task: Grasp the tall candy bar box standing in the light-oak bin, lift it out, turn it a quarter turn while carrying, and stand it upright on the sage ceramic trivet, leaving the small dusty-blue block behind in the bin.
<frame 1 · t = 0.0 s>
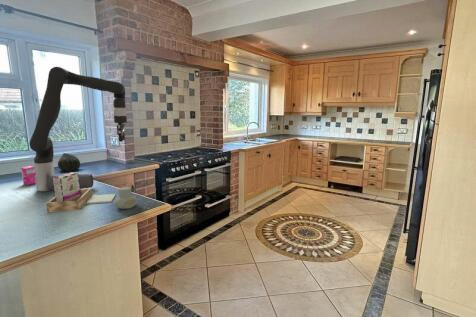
hand: (122, 140, 169), 29 cm above the table, fingers open, 8 cm apart
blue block: (75, 199, 145), resting in oak bin
squash: (69, 170, 213), on the table
candy bar box: (69, 205, 136), resting in oak bin
air freshener: (126, 207, 135), on the table
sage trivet: (101, 199, 146), on the table
oak bin: (71, 203, 139), on the table
bluetooth speaker: (72, 190, 161), on the table, touching arm
supplement box: (30, 184, 174), on the table
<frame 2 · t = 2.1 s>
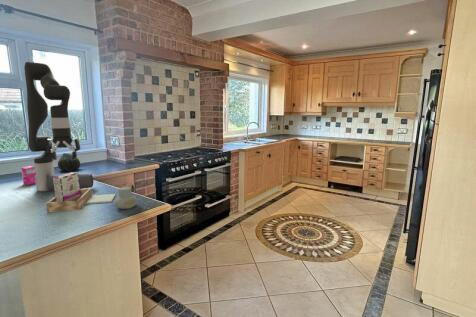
hand: (64, 159, 132), 24 cm above the table, fingers open, 8 cm apart
nothing on the table moved.
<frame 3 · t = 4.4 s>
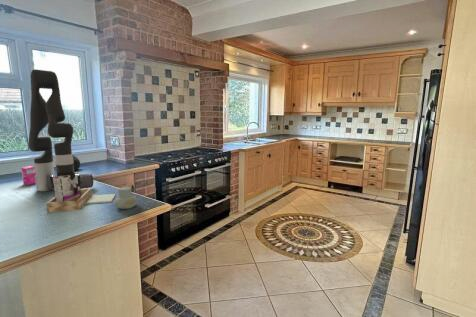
hand: (68, 194, 135), 6 cm above the table, fingers closed on candy bar box, 6 cm apart
candy bar box: (69, 205, 136), resting in oak bin, touching gripper
everything else where it was.
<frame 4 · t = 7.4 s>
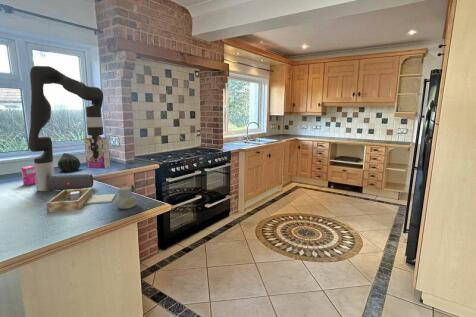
hand: (97, 157, 141), 24 cm above the table, fingers closed on candy bar box, 6 cm apart
candy bar box: (98, 167, 142), point 18 cm above the table, touching gripper
everything else where it was.
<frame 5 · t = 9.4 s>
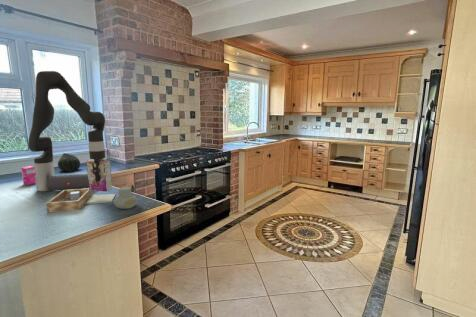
hand: (99, 179, 143), 11 cm above the table, fingers closed on candy bar box, 6 cm apart
candy bar box: (100, 190, 145), point 5 cm above the table, touching gripper
everything else where it was.
when the fingers open (8 cm above the table, at t = 10.8 s): candy bar box stays where it is, resting on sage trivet.
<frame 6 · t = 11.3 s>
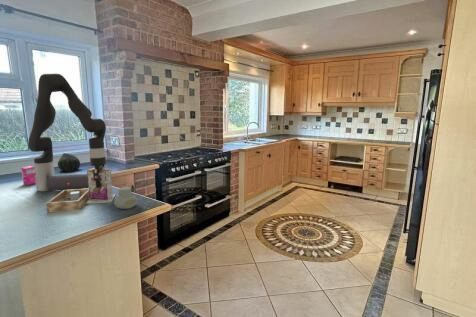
hand: (100, 185, 144), 8 cm above the table, fingers open, 8 cm apart
candy bar box: (101, 198, 145), point 1 cm above the table, touching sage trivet
everything else where it was.
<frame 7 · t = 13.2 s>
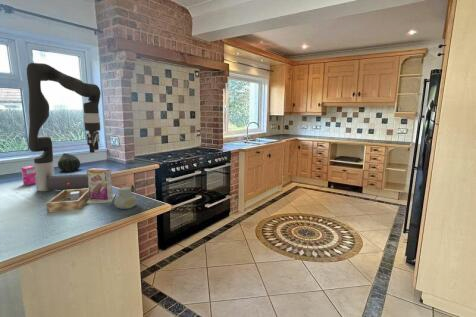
hand: (94, 151, 146), 26 cm above the table, fingers open, 8 cm apart
nothing on the table moved.
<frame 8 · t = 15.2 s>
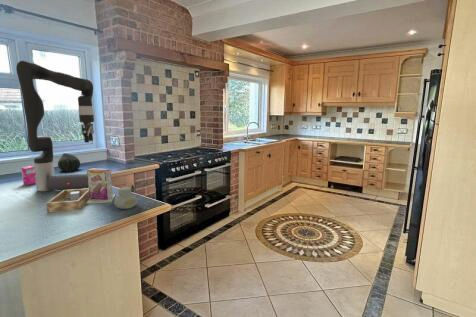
hand: (89, 141, 157), 30 cm above the table, fingers open, 8 cm apart
nothing on the table moved.
at the end: candy bar box inside the target area on the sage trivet (0.1 cm from its centre), point 0.6 cm above the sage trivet's base; candy bar box tilted 0°; the gripper is holding nothing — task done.
